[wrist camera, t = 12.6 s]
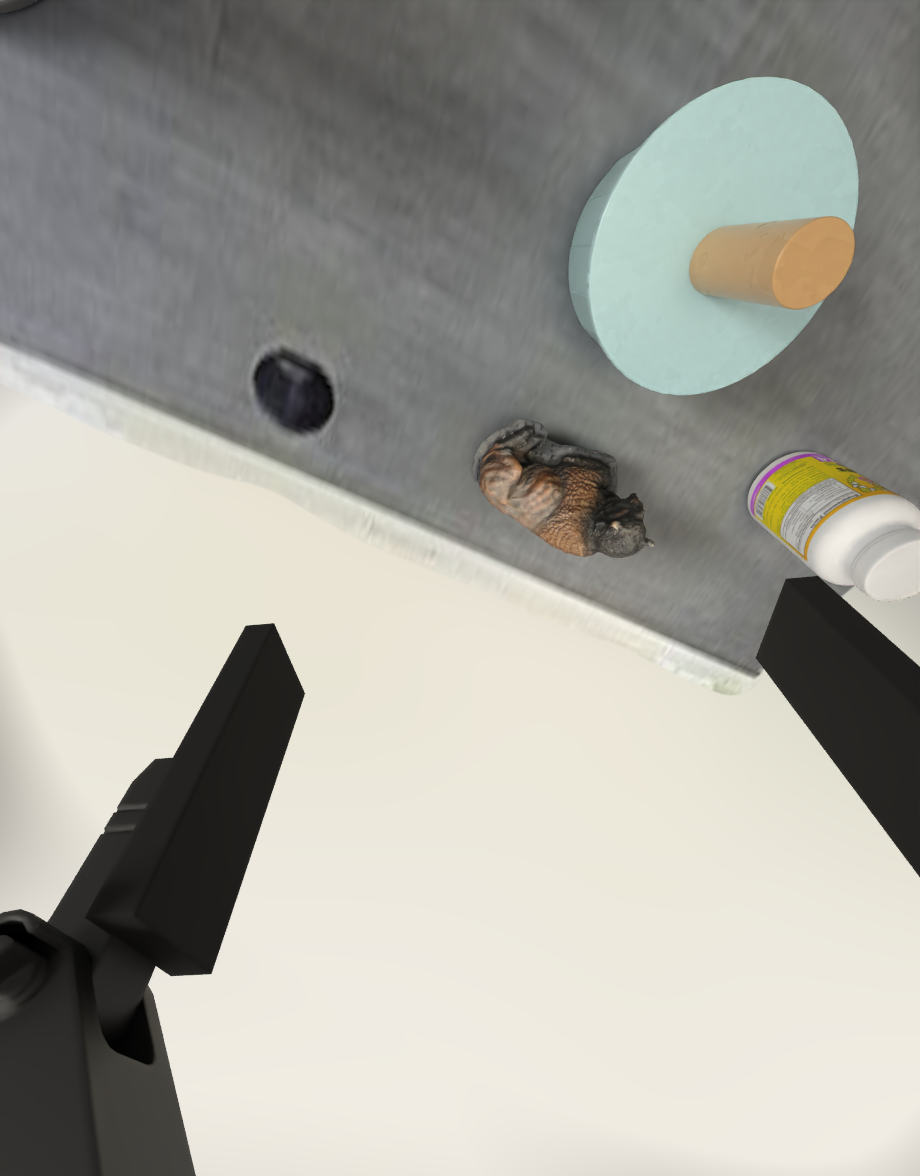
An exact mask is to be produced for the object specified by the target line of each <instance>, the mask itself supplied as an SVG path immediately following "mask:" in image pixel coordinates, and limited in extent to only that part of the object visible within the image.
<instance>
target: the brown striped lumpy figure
mask: <svg viewBox="0 0 920 1176" xmlns="http://www.w3.org/2000/svg"><path fill="white" fill-rule="evenodd" d="M472 476H473V478H474V480H475V481H476V482H478V483H479V485H480V489H481V491H482V493H483V494H484V496H485V497H486V498H487V500H488V501H489V502H490V503H491V504H492V505H493V506H495V507H496V508H497V509H498V510H500V511H501V512H502V513H503V514H506V515H509V516H511V517H512V518H514V519H515V520H517V521H518V522H519V523H520V524H521V525H522V526H524V527H525V528H527V529H529V530H530V531H531V532H533V533H535V534H536V535H537V536H539V537H540V538H541V539H543V540H544V541H545V542H547V543H548V544H550V545H551V546H552V547H555V548H557V549H559V550H562V551H563V552H565V553H569V554H573V555H577V556H581V557H585V556H590V555H593V554H595V553H597V552H601V553H603V554H605V555H607V556H610V557H614V558H623V557H628V556H631V555H633V554H635V553H637V552H638V551H639V550H641V549H642V548H643V547H644V546H651V547H652V546H654V543H653V542H652V541H651V540H650V539H647V538H646V537H645V535H646V528H645V526H644V524H643V518H644V515H645V510H644V509H643V503H642V502H640V501H639V500H638V497H637V496H636V494H635V493H632V494H631V495H630V496H629V497H627V498H626V499H620V498H619V496H617V495H616V491H617V461H616V459H615V458H614V457H612V456H610V455H608V454H606V453H602V452H599V451H596V450H587V449H584V448H580V447H577V446H572V445H559V444H558V443H556V442H554V441H551V440H549V439H547V430H546V429H545V427H544V426H543V425H542V424H540V423H538V422H533V421H529V420H526V419H521V420H516V421H514V422H512V423H510V424H507V425H505V426H503V427H502V428H500V429H499V430H497V431H496V432H494V433H493V434H491V435H490V436H489V437H487V438H486V439H485V440H484V441H483V442H482V443H481V445H480V447H479V449H478V451H477V453H476V455H475V457H474V460H473V466H472Z"/></svg>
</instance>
